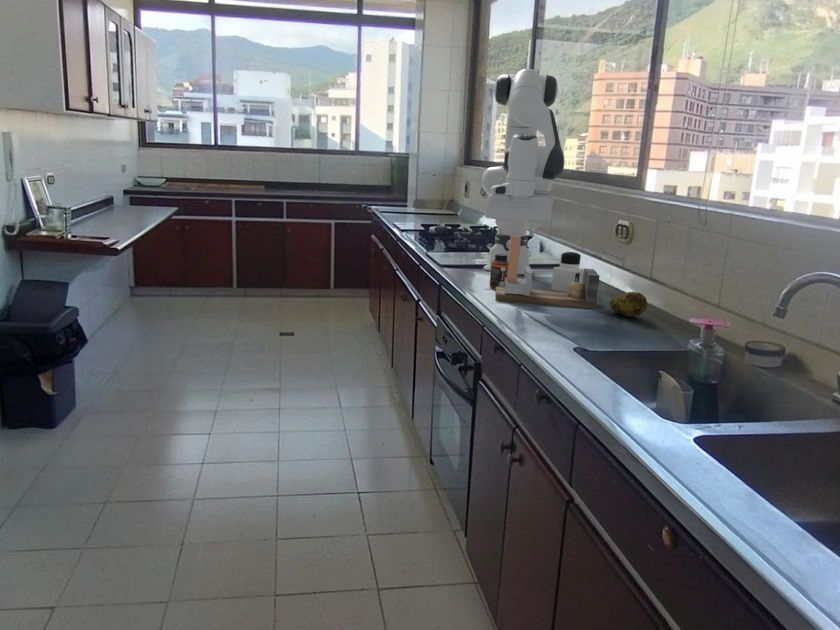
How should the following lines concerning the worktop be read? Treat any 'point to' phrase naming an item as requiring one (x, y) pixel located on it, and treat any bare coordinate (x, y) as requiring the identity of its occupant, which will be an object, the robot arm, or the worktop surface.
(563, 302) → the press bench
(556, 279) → the container
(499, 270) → the supplement bottle
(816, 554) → the worktop surface
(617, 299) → the potato
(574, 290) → the beige rounded cylinder
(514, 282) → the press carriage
